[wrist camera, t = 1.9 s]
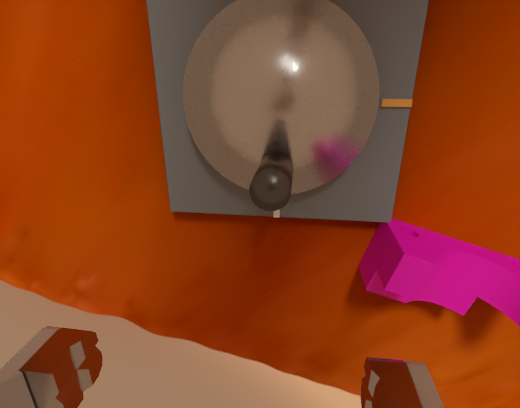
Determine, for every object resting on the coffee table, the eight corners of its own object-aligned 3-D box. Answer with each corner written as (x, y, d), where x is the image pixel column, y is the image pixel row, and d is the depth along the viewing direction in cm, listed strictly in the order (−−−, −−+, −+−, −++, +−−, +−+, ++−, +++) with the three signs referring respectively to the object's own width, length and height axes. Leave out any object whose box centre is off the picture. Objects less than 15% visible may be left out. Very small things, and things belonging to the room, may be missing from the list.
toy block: (358, 264, 35) (371, 311, 28) (383, 215, 33) (404, 253, 26) (489, 306, 35) (535, 364, 28) (524, 260, 33) (583, 311, 26)
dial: (180, -5, 26) (135, -33, 19) (389, -11, 24) (424, -44, 17) (195, 187, 32) (166, 219, 25) (362, 194, 30) (381, 230, 23)
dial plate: (149, -42, 26) (139, -49, 25) (431, -54, 24) (440, -62, 22) (175, 205, 35) (169, 212, 33) (387, 216, 32) (391, 223, 31)
